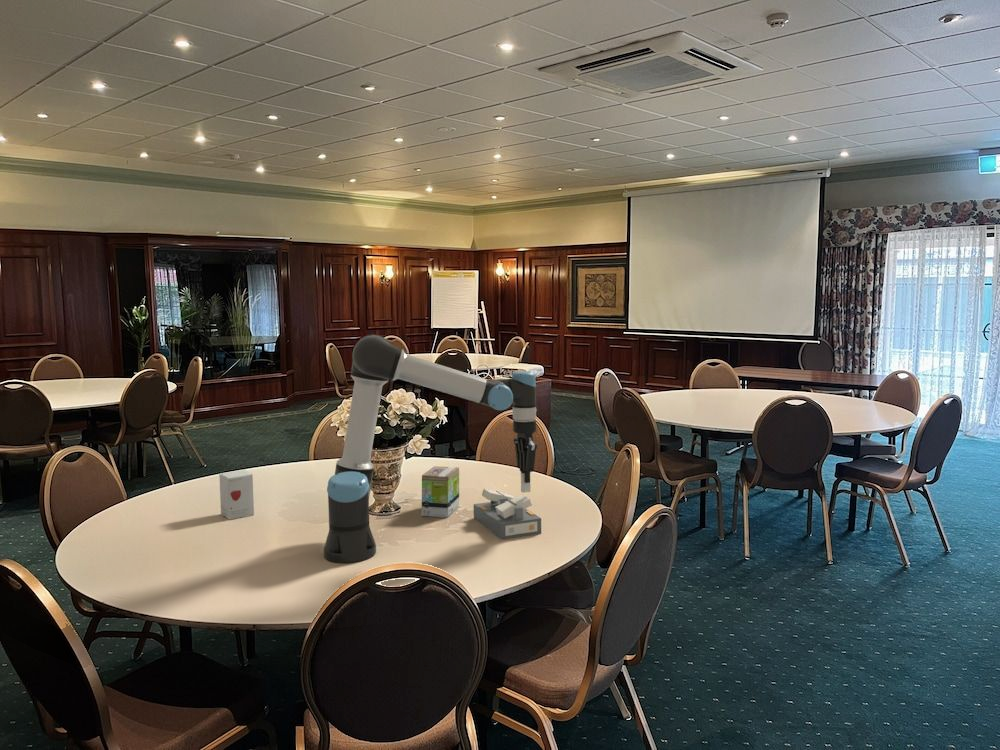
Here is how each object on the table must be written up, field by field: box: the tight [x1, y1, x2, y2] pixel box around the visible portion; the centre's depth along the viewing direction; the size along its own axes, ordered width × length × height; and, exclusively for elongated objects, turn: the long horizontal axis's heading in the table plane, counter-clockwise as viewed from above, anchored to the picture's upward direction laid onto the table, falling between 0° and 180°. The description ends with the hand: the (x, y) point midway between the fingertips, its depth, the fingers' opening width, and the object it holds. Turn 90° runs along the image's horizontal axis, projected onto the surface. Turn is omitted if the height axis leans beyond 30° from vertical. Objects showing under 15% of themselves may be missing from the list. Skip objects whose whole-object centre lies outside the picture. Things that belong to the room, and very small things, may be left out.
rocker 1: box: [481, 488, 516, 502], centre depth 235 cm, size 10×6×2 cm, turn 113°
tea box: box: [421, 465, 460, 518], centre depth 247 cm, size 15×10×15 cm, turn 168°
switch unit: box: [473, 498, 542, 540], centre depth 230 cm, size 14×24×9 cm, turn 23°
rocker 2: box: [495, 493, 533, 518], centre depth 224 cm, size 10×6×3 cm, turn 113°
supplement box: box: [218, 469, 255, 520], centre depth 245 cm, size 9×9×15 cm
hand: (525, 491), depth 225 cm, fingers closed
